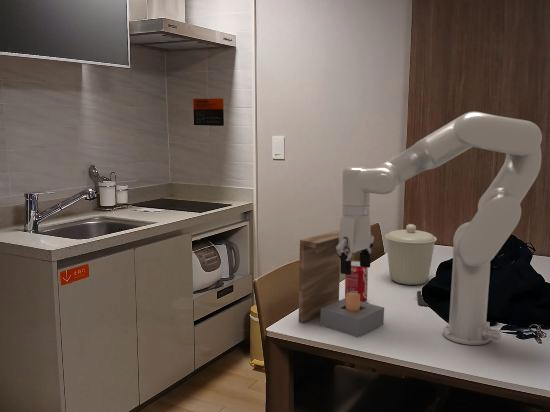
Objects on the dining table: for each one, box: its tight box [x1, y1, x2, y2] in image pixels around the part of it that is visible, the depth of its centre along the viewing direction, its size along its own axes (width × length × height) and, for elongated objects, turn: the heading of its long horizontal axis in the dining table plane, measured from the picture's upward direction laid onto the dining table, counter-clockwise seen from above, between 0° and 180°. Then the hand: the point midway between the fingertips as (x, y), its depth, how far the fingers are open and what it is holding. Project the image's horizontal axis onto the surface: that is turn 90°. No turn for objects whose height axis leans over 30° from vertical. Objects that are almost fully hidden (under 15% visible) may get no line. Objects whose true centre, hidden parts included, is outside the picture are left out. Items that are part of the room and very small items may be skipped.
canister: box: [384, 223, 438, 286], centre depth 202 cm, size 18×18×21 cm
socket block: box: [319, 297, 385, 338], centre depth 161 cm, size 13×13×5 cm
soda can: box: [344, 260, 369, 303], centre depth 179 cm, size 7×7×13 cm
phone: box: [416, 290, 430, 308], centre depth 184 cm, size 7×1×15 cm
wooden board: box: [298, 230, 341, 324], centre depth 165 cm, size 6×18×24 cm, turn 138°
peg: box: [346, 292, 360, 312], centre depth 160 cm, size 4×4×9 cm
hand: (355, 270), depth 158 cm, fingers open, 9 cm apart
